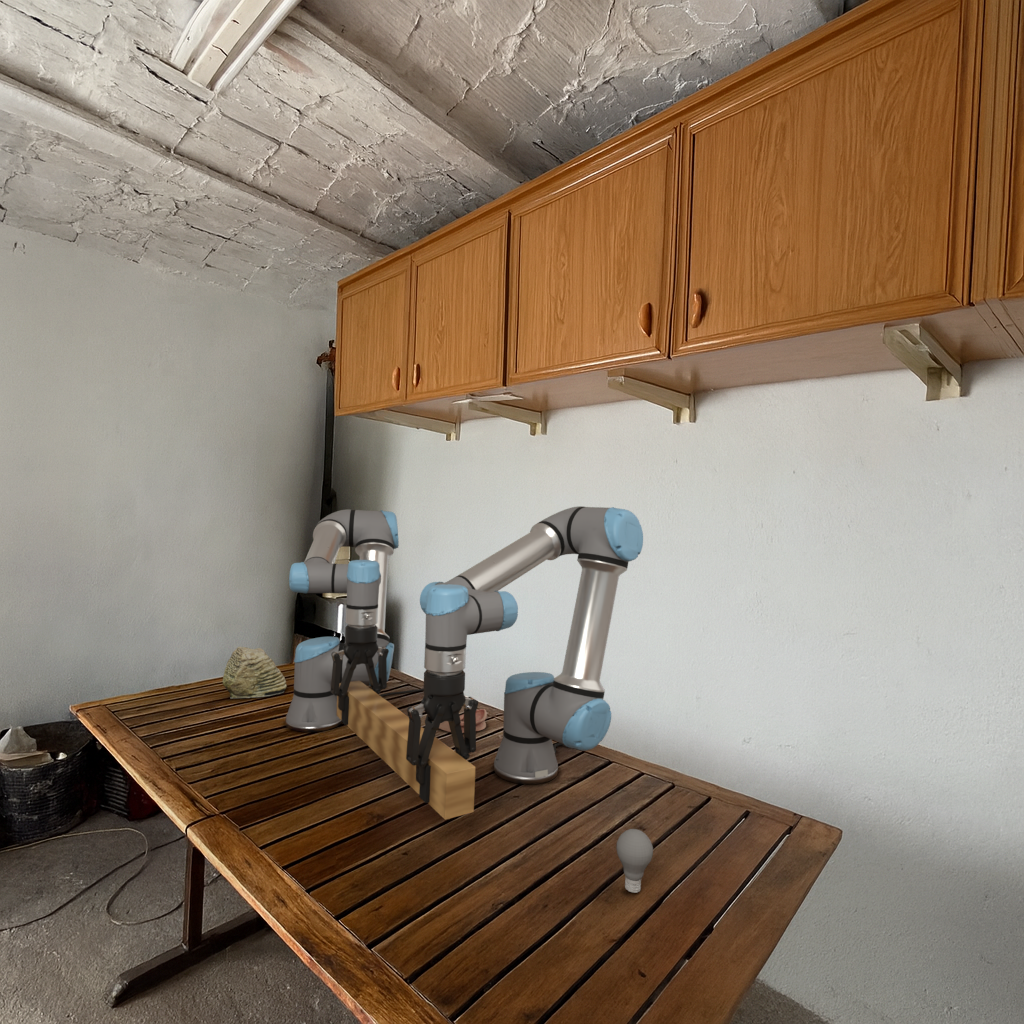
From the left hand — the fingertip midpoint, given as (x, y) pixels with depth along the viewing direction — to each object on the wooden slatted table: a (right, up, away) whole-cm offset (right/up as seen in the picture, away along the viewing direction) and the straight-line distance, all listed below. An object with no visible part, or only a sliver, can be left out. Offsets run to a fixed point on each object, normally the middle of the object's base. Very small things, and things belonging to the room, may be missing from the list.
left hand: (357, 720), depth 152 cm
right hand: (+24, -2, -36) cm, 43 cm away
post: (+12, -1, -18) cm, 22 cm away
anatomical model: (+23, -10, +26) cm, 36 cm away
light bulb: (+57, -13, -47) cm, 75 cm away
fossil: (-44, -7, +46) cm, 64 cm away
